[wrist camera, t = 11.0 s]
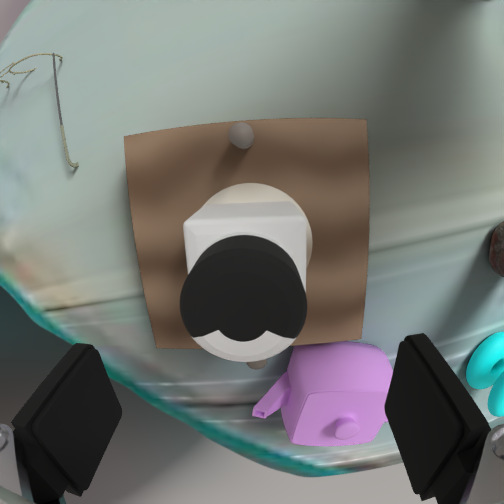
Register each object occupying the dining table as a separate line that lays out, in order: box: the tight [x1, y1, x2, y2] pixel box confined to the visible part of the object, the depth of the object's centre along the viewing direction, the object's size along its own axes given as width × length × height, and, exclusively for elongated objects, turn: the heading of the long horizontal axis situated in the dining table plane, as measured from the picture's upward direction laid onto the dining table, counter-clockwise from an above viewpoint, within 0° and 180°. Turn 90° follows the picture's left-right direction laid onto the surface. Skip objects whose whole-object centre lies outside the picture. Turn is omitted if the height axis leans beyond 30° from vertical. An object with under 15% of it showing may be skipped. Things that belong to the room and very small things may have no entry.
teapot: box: [252, 341, 393, 446], centre depth 30 cm, size 18×10×10 cm, turn 83°
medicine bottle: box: [180, 201, 307, 362], centre depth 19 cm, size 7×7×12 cm
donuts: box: [466, 332, 504, 417], centre depth 30 cm, size 10×10×10 cm
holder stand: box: [124, 118, 370, 369], centre depth 26 cm, size 20×20×9 cm
